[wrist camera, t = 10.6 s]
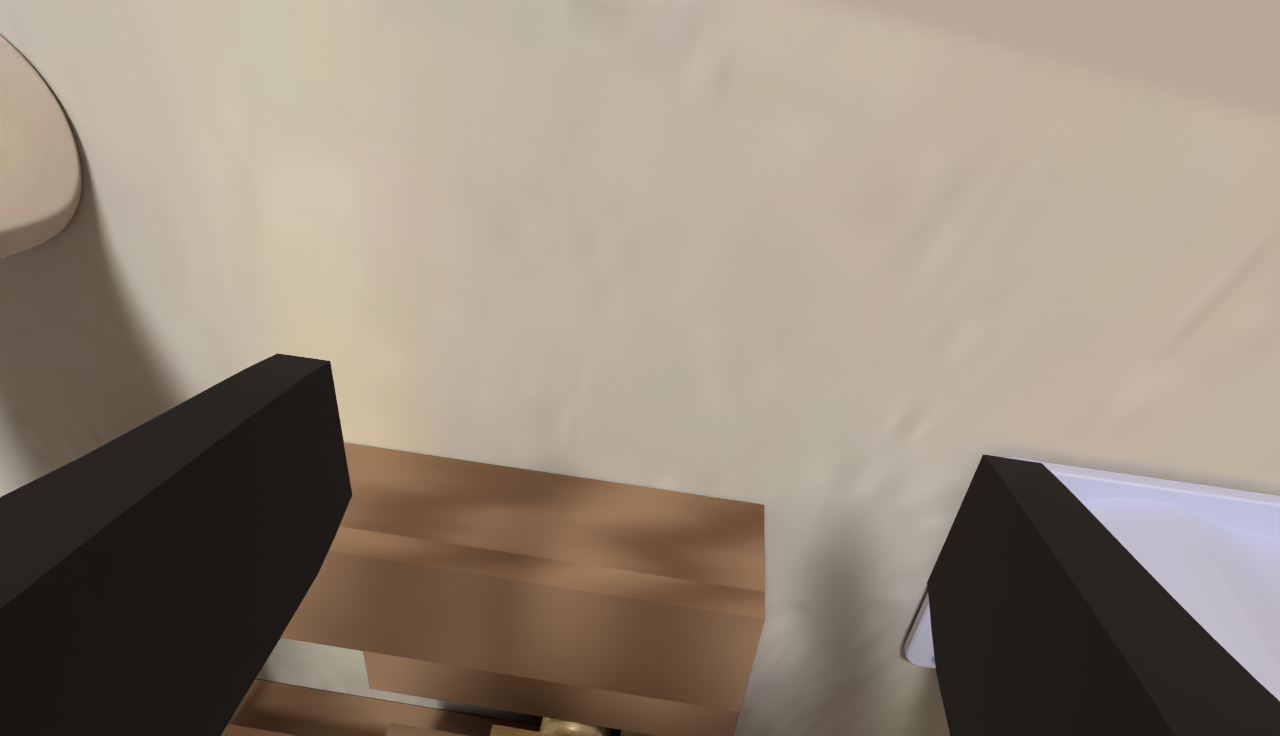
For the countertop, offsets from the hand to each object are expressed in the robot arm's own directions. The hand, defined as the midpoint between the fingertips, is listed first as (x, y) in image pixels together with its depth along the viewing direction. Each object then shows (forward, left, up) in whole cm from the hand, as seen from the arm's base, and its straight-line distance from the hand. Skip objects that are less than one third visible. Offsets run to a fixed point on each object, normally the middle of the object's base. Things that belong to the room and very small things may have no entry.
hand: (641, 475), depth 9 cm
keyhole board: (+6, +16, -9) cm, 19 cm away
